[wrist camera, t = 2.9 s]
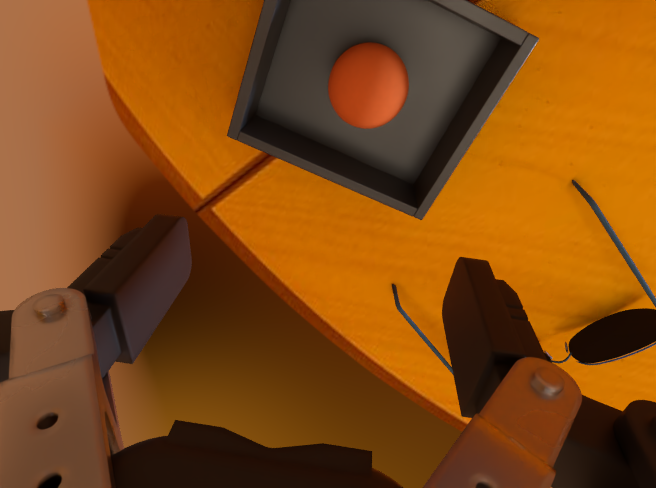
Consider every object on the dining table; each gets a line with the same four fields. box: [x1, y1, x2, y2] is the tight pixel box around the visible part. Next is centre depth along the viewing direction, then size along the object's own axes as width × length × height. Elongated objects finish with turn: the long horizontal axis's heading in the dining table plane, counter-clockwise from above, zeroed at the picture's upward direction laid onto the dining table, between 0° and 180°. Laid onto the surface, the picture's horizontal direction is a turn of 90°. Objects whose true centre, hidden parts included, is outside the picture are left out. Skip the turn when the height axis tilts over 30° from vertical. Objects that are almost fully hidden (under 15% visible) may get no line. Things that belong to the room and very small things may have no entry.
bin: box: [227, 0, 539, 220], centre depth 25 cm, size 14×12×5 cm
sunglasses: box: [392, 180, 656, 374], centre depth 34 cm, size 17×15×5 cm
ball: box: [328, 42, 409, 129], centre depth 25 cm, size 5×5×5 cm
